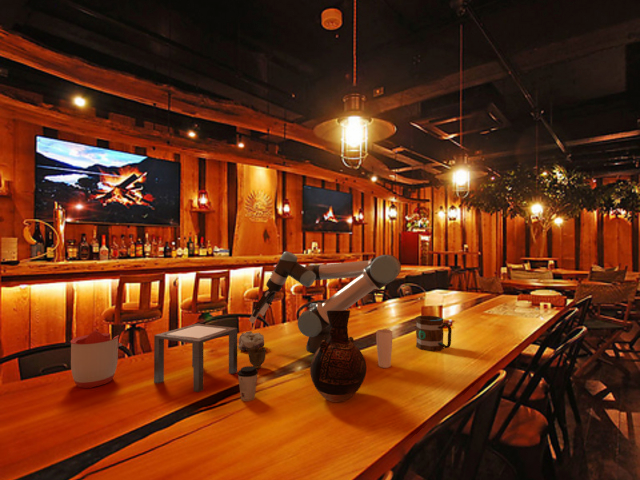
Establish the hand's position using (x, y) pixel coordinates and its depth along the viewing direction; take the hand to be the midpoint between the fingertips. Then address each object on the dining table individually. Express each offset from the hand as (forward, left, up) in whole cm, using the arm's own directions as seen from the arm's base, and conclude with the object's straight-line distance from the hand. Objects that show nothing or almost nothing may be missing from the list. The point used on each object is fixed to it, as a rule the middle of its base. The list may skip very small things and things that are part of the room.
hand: (256, 318), depth 172 cm
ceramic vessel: (-56, +32, -17) cm, 66 cm away
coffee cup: (-28, +45, -17) cm, 56 cm away
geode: (+6, -4, -17) cm, 18 cm away
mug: (-80, -40, -17) cm, 91 cm away
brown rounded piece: (-14, +19, -17) cm, 29 cm away
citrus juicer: (+34, +56, -17) cm, 68 cm away
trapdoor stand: (+2, +37, -17) cm, 41 cm away
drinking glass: (-63, -5, -17) cm, 65 cm away
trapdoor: (+2, +38, 0) cm, 38 cm away
